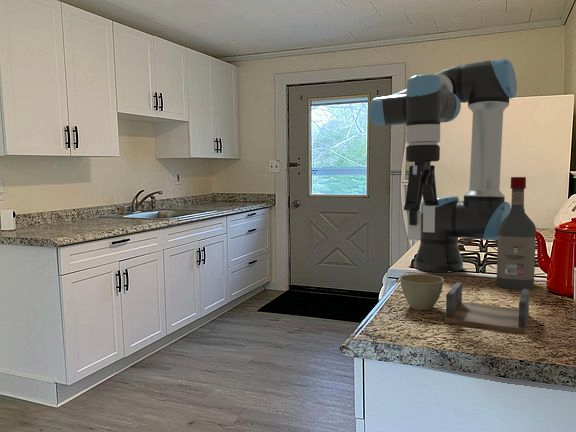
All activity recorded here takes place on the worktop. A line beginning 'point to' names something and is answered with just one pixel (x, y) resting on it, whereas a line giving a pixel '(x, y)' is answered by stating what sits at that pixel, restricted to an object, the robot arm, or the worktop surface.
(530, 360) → the worktop surface
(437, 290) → the flower pot
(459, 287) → the cradle
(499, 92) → the robot arm
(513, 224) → the liquor
